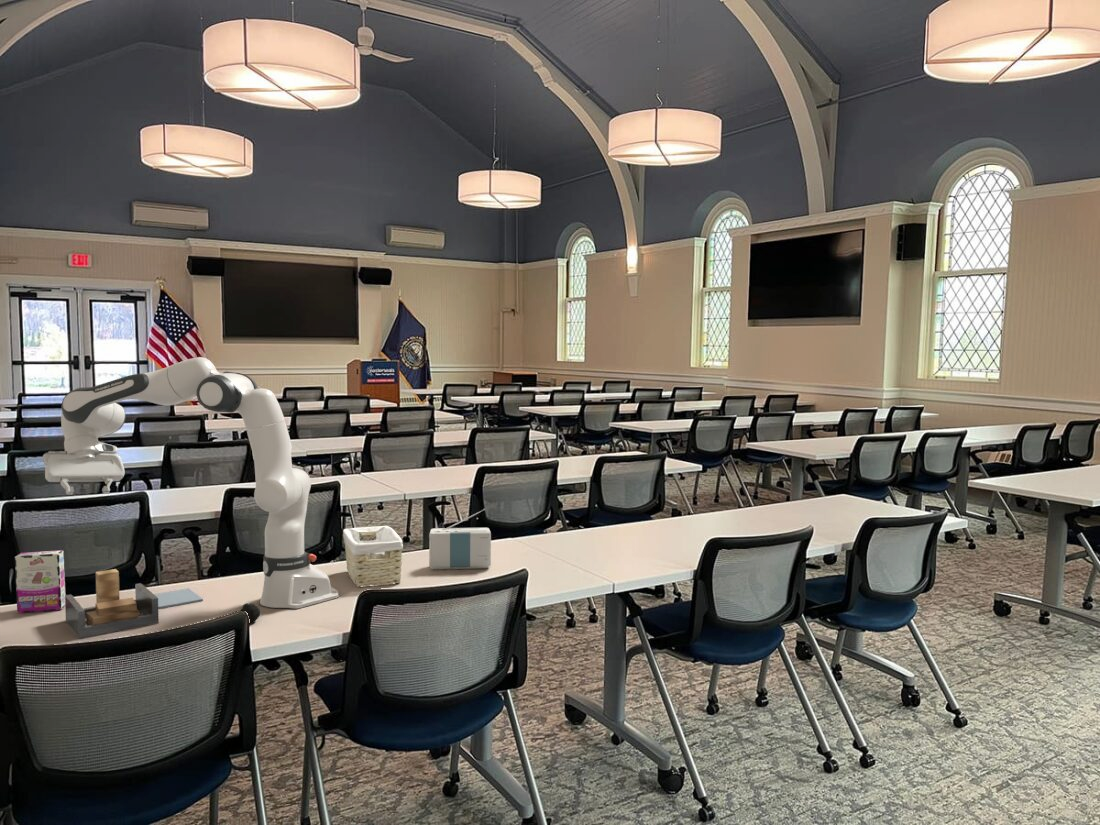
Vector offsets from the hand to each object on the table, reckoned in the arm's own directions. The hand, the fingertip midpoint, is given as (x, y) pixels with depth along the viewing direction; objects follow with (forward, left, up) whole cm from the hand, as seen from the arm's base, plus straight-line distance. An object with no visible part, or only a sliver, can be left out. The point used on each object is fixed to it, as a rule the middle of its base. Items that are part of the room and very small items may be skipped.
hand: (88, 493), depth 232 cm
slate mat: (-19, +9, -33) cm, 39 cm away
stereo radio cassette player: (-107, +31, -33) cm, 116 cm away
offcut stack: (-1, +22, -33) cm, 40 cm away
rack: (-1, +20, -33) cm, 38 cm away
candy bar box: (+12, -4, -33) cm, 35 cm away
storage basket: (-77, +24, -33) cm, 87 cm away
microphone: (-23, +43, -33) cm, 59 cm away
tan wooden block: (-1, +16, -33) cm, 36 cm away
